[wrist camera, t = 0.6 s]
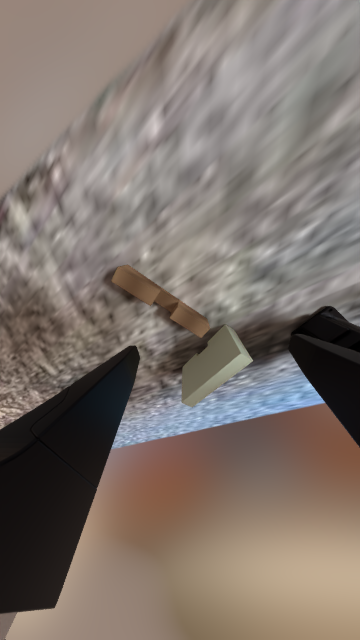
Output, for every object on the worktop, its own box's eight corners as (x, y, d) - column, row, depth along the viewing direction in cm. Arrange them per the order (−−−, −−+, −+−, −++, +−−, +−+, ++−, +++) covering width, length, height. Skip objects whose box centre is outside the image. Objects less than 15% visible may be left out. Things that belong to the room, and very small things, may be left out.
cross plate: (225, 324, 22) (241, 353, 16) (234, 330, 22) (253, 360, 16) (182, 367, 26) (181, 402, 20) (190, 371, 27) (192, 407, 21)
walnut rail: (207, 318, 21) (210, 328, 19) (199, 327, 22) (201, 337, 20) (127, 264, 18) (117, 266, 16) (121, 277, 19) (111, 281, 16)
